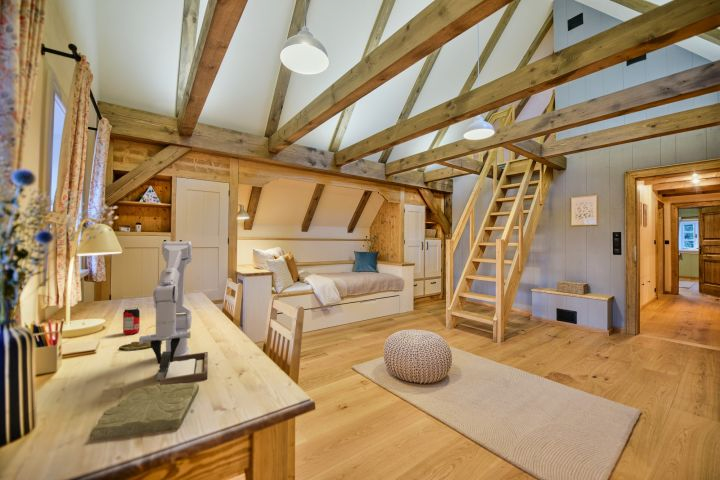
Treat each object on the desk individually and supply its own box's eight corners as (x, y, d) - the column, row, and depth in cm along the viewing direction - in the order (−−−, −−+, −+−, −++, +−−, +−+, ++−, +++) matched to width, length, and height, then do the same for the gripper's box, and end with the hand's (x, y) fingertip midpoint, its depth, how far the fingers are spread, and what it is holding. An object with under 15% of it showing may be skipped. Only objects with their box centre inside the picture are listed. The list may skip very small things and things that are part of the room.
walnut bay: (167, 362, 115) (167, 357, 115) (207, 357, 121) (207, 351, 121) (159, 386, 96) (159, 380, 96) (207, 378, 102) (207, 372, 102)
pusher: (161, 366, 110) (164, 347, 111) (169, 366, 112) (172, 348, 112) (155, 380, 100) (159, 359, 100) (164, 380, 101) (168, 359, 101)
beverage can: (142, 332, 153) (142, 307, 154) (130, 335, 147) (130, 310, 147) (132, 331, 155) (132, 306, 155) (119, 334, 149) (119, 309, 149)
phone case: (195, 380, 102) (197, 362, 117) (195, 375, 102) (197, 357, 116) (162, 385, 98) (169, 366, 113) (162, 380, 98) (169, 361, 113)
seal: (117, 356, 125) (162, 349, 133) (117, 345, 124) (162, 338, 132) (120, 347, 133) (162, 340, 141) (119, 336, 132) (162, 330, 140)
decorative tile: (199, 391, 94) (199, 379, 94) (180, 430, 75) (180, 415, 75) (127, 399, 89) (127, 387, 89) (86, 443, 70) (86, 427, 70)
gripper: (137, 326, 99) (137, 370, 99) (189, 321, 105) (189, 362, 105) (141, 321, 105) (141, 362, 105) (191, 317, 112) (190, 355, 112)
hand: (165, 362), depth 106 cm, fingers closed on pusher, 3 cm apart
